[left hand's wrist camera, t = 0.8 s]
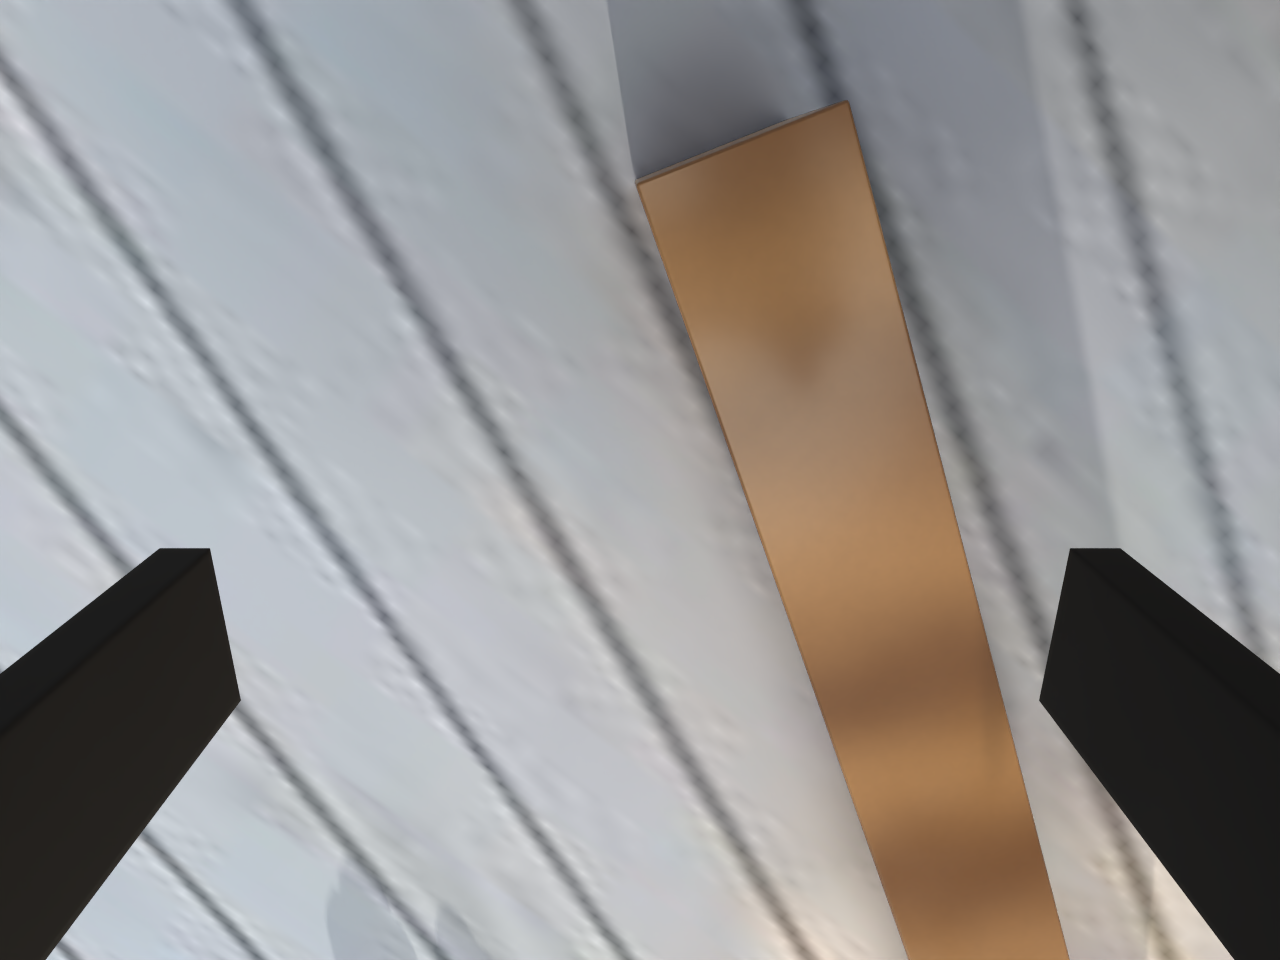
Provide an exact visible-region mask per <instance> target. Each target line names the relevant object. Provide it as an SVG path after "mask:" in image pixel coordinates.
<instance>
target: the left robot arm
mask: <svg viewBox="0 0 1280 960" xmlns="http://www.w3.org/2000/svg"><path fill="white" fill-rule="evenodd" d="M240 701H241V699H240V694H239V689H238V684H237V679H236V674H235V669H234V665H233V660H232V655H231V650H230V645H229V640H228V635H227V630H226V625H225V620H224V615H223V610H222V605H221V601H220V596H219V591H218V586H217V581H216V576H215V571H214V566H213V561H212V556H211V551H210V548H160V549H158V550H157V551H156V552H154V553H153V554H152V555H151V556H149V557H148V558H147V559H146V560H144V561H143V562H142V563H141V564H139V565H138V566H137V567H135V568H134V569H133V570H132V571H130V572H129V573H128V574H127V575H125V576H124V577H123V578H121V579H120V580H119V581H118V582H116V583H115V584H114V585H113V586H111V587H110V588H109V589H108V590H106V591H105V592H104V593H102V594H101V595H100V596H99V597H97V598H96V599H95V600H94V601H92V602H91V603H90V604H88V605H87V606H86V607H85V608H83V609H82V610H81V611H80V612H78V613H77V614H76V615H75V616H73V617H72V618H71V619H69V620H68V621H67V622H66V623H64V624H63V625H62V626H61V627H59V628H58V629H57V630H55V631H54V632H53V633H52V634H50V635H49V636H48V637H47V638H45V639H44V640H43V641H41V642H40V643H39V644H38V645H36V646H35V647H34V648H33V649H31V650H30V651H29V652H28V653H26V654H25V655H24V656H22V657H21V658H20V659H19V660H17V661H16V662H15V663H14V664H12V665H11V666H10V667H8V668H7V669H6V670H5V671H3V672H2V673H1V674H0V960H46V959H47V957H48V956H49V955H50V953H51V952H52V951H53V949H54V948H55V947H56V945H57V944H58V943H59V941H60V940H61V939H62V937H63V936H64V935H65V933H66V932H67V931H68V929H69V928H70V927H71V925H72V924H73V923H74V921H75V920H76V919H77V917H78V916H79V915H80V913H81V912H82V911H83V909H84V908H85V907H86V905H87V904H88V903H89V901H90V900H91V899H92V897H93V896H94V895H95V893H96V892H97V891H98V889H99V888H100V887H101V885H102V884H103V883H104V881H105V880H106V879H107V878H108V876H109V875H110V874H111V872H112V871H113V870H114V868H115V867H116V866H117V864H118V863H119V862H120V860H121V859H122V858H123V856H124V855H125V854H126V852H127V851H128V850H129V848H130V847H131V846H132V844H133V843H134V842H135V840H136V839H137V838H138V836H139V835H140V834H141V832H142V831H143V830H144V828H145V827H146V826H147V824H148V823H149V822H150V820H151V819H152V818H153V816H154V815H155V814H156V812H157V811H158V810H159V808H160V807H161V806H162V804H163V803H164V802H165V800H166V799H167V798H168V796H169V795H170V794H171V792H172V791H173V790H174V789H175V787H176V786H177V785H178V783H179V782H180V781H181V779H182V778H183V777H184V775H185V774H186V773H187V771H188V770H189V769H190V767H191V766H192V765H193V763H194V762H195V761H196V759H197V758H198V757H199V755H200V754H201V753H202V751H203V750H204V749H205V747H206V746H207V745H208V743H209V742H210V741H211V739H212V738H213V737H214V735H215V734H216V733H217V731H218V730H219V729H220V727H221V726H222V725H223V723H224V722H225V721H226V719H227V718H228V717H229V715H230V714H231V713H232V711H233V710H234V709H235V707H236V706H237V705H238V703H239V702H240ZM1039 701H1040V702H1041V703H1042V705H1043V706H1044V707H1045V709H1046V710H1047V711H1048V713H1049V714H1050V715H1051V717H1052V718H1053V719H1054V721H1055V722H1056V723H1057V725H1058V726H1059V727H1060V729H1061V730H1062V731H1063V733H1064V734H1065V735H1066V737H1067V738H1068V739H1069V741H1070V742H1071V743H1072V745H1073V746H1074V747H1075V749H1076V750H1077V751H1078V753H1079V754H1080V755H1081V757H1082V758H1083V759H1084V761H1085V762H1086V763H1087V765H1088V766H1089V767H1090V769H1091V770H1092V771H1093V773H1094V774H1095V775H1096V777H1097V778H1098V779H1099V781H1100V782H1101V783H1102V785H1103V786H1104V787H1105V789H1106V790H1107V791H1108V792H1109V794H1110V795H1111V796H1112V798H1113V799H1114V800H1115V802H1116V803H1117V804H1118V806H1119V807H1120V808H1121V810H1122V811H1123V812H1124V814H1125V815H1126V816H1127V818H1128V819H1129V820H1130V822H1131V823H1132V824H1133V826H1134V827H1135V828H1136V830H1137V831H1138V832H1139V834H1140V835H1141V836H1142V838H1143V839H1144V840H1145V842H1146V843H1147V844H1148V846H1149V847H1150V848H1151V850H1152V851H1153V852H1154V854H1155V855H1156V856H1157V858H1158V859H1159V860H1160V862H1161V863H1162V864H1163V866H1164V867H1165V868H1166V870H1167V871H1168V872H1169V874H1170V875H1171V876H1172V878H1173V879H1174V880H1175V881H1176V883H1177V884H1178V885H1179V887H1180V888H1181V889H1182V891H1183V892H1184V893H1185V895H1186V896H1187V897H1188V899H1189V900H1190V901H1191V903H1192V904H1193V905H1194V907H1195V908H1196V909H1197V911H1198V912H1199V913H1200V915H1201V916H1202V917H1203V919H1204V920H1205V921H1206V923H1207V924H1208V925H1209V927H1210V928H1211V929H1212V931H1213V932H1214V933H1215V935H1216V936H1217V937H1218V939H1219V940H1220V941H1221V943H1222V944H1223V945H1224V947H1225V948H1226V949H1227V951H1228V952H1229V953H1230V955H1231V956H1232V957H1233V959H1234V960H1280V674H1279V673H1278V672H1277V671H1275V670H1274V669H1273V668H1272V667H1270V666H1269V665H1268V664H1266V663H1265V662H1264V661H1263V660H1261V659H1260V658H1259V657H1258V656H1256V655H1255V654H1254V653H1252V652H1251V651H1250V650H1249V649H1247V648H1246V647H1245V646H1244V645H1242V644H1241V643H1240V642H1239V641H1237V640H1236V639H1235V638H1233V637H1232V636H1231V635H1230V634H1228V633H1227V632H1226V631H1225V630H1223V629H1222V628H1221V627H1219V626H1218V625H1217V624H1216V623H1214V622H1213V621H1212V620H1211V619H1209V618H1208V617H1207V616H1205V615H1204V614H1203V613H1202V612H1200V611H1199V610H1198V609H1197V608H1195V607H1194V606H1193V605H1192V604H1190V603H1189V602H1188V601H1186V600H1185V599H1184V598H1183V597H1181V596H1180V595H1179V594H1178V593H1176V592H1175V591H1174V590H1172V589H1171V588H1170V587H1169V586H1167V585H1166V584H1165V583H1164V582H1162V581H1161V580H1160V579H1159V578H1157V577H1156V576H1155V575H1153V574H1152V573H1151V572H1150V571H1148V570H1147V569H1146V568H1145V567H1143V566H1142V565H1141V564H1139V563H1138V562H1137V561H1136V560H1134V559H1133V558H1132V557H1131V556H1129V555H1128V554H1127V553H1126V552H1124V551H1123V550H1122V549H1120V548H1070V551H1069V556H1068V561H1067V566H1066V571H1065V576H1064V581H1063V586H1062V591H1061V596H1060V601H1059V605H1058V610H1057V615H1056V620H1055V625H1054V630H1053V635H1052V640H1051V645H1050V650H1049V655H1048V660H1047V665H1046V669H1045V674H1044V679H1043V684H1042V689H1041V694H1040V699H1039Z"/></svg>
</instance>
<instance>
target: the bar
mask: <svg viewBox="0 0 1280 960" xmlns="http://www.w3.org/2000/svg"><path fill="white" fill-rule="evenodd" d="M635 184H636V187H637V190H638V193H639V196H640V199H641V201H642V204H643V207H644V210H645V213H646V216H647V219H648V221H649V224H650V227H651V230H652V233H653V236H654V238H655V241H656V244H657V247H658V250H659V253H660V255H661V258H662V261H663V264H664V267H665V270H666V272H667V275H668V278H669V281H670V284H671V287H672V289H673V292H674V295H675V298H676V301H677V304H678V307H679V309H680V312H681V315H682V318H683V321H684V324H685V326H686V329H687V332H688V335H689V338H690V341H691V343H692V346H693V349H694V352H695V355H696V358H697V360H698V363H699V366H700V369H701V372H702V375H703V377H704V380H705V383H706V386H707V389H708V392H709V395H710V397H711V400H712V403H713V406H714V409H715V412H716V414H717V417H718V420H719V423H720V426H721V429H722V431H723V434H724V437H725V440H726V443H727V446H728V448H729V451H730V454H731V457H732V460H733V463H734V465H735V468H736V471H737V474H738V477H739V480H740V482H741V485H742V488H743V491H744V494H745V497H746V500H747V502H748V505H749V508H750V511H751V514H752V517H753V519H754V522H755V525H756V528H757V531H758V534H759V536H760V539H761V542H762V545H763V548H764V551H765V553H766V556H767V559H768V562H769V565H770V568H771V570H772V573H773V576H774V579H775V582H776V585H777V588H778V590H779V593H780V596H781V599H782V602H783V605H784V607H785V610H786V613H787V616H788V619H789V622H790V624H791V627H792V630H793V633H794V636H795V639H796V641H797V644H798V647H799V650H800V653H801V656H802V658H803V661H804V664H805V667H806V670H807V673H808V675H809V678H810V681H811V684H812V687H813V690H814V693H815V695H816V698H817V701H818V704H819V707H820V710H821V712H822V715H823V718H824V721H825V724H826V727H827V729H828V732H829V735H830V738H831V741H832V744H833V746H834V749H835V752H836V755H837V758H838V761H839V763H840V766H841V769H842V772H843V775H844V778H845V781H846V783H847V786H848V789H849V792H850V795H851V798H852V800H853V803H854V806H855V809H856V812H857V815H858V817H859V820H860V823H861V826H862V829H863V832H864V834H865V837H866V840H867V843H868V846H869V849H870V851H871V854H872V857H873V860H874V863H875V866H876V869H877V871H878V874H879V877H880V880H881V883H882V886H883V888H884V891H885V894H886V897H887V900H888V903H889V905H890V908H891V911H892V914H893V917H894V920H895V922H896V925H897V928H898V931H899V934H900V937H901V939H902V942H903V945H904V948H905V951H906V954H907V956H908V959H909V960H1070V959H1069V955H1068V951H1067V948H1066V944H1065V940H1064V936H1063V932H1062V928H1061V924H1060V920H1059V916H1058V913H1057V909H1056V905H1055V901H1054V897H1053V893H1052V889H1051V885H1050V881H1049V878H1048V874H1047V870H1046V866H1045V862H1044V858H1043V854H1042V850H1041V846H1040V843H1039V839H1038V835H1037V831H1036V827H1035V823H1034V819H1033V815H1032V811H1031V808H1030V804H1029V800H1028V796H1027V792H1026V788H1025V784H1024V780H1023V776H1022V773H1021V769H1020V765H1019V761H1018V757H1017V753H1016V749H1015V745H1014V741H1013V738H1012V734H1011V730H1010V726H1009V722H1008V718H1007V714H1006V710H1005V706H1004V703H1003V699H1002V695H1001V691H1000V687H999V683H998V679H997V675H996V671H995V668H994V664H993V660H992V656H991V652H990V648H989V644H988V640H987V636H986V633H985V629H984V625H983V621H982V617H981V613H980V609H979V605H978V601H977V598H976V594H975V590H974V586H973V582H972V578H971V574H970V570H969V566H968V563H967V559H966V555H965V551H964V547H963V543H962V539H961V535H960V531H959V528H958V524H957V520H956V516H955V512H954V508H953V504H952V500H951V496H950V493H949V489H948V485H947V481H946V477H945V473H944V469H943V465H942V461H941V458H940V454H939V450H938V446H937V442H936V438H935V434H934V430H933V426H932V423H931V419H930V415H929V411H928V407H927V403H926V399H925V395H924V391H923V388H922V384H921V380H920V376H919V372H918V368H917V364H916V360H915V356H914V353H913V349H912V345H911V341H910V337H909V333H908V329H907V325H906V321H905V318H904V314H903V310H902V306H901V302H900V298H899V294H898V290H897V286H896V283H895V279H894V275H893V271H892V267H891V263H890V259H889V255H888V251H887V248H886V244H885V240H884V236H883V232H882V228H881V224H880V220H879V216H878V213H877V209H876V205H875V201H874V197H873V193H872V189H871V185H870V181H869V178H868V174H867V170H866V166H865V162H864V158H863V154H862V150H861V146H860V143H859V139H858V135H857V131H856V127H855V123H854V119H853V115H852V111H851V108H850V104H849V102H848V100H844V101H841V102H838V103H835V104H832V105H829V106H826V107H823V108H820V109H817V110H814V111H811V112H808V113H805V114H802V115H799V116H796V117H793V118H790V119H787V120H785V121H782V122H780V123H777V124H775V125H772V126H770V127H767V128H765V129H762V130H759V131H757V132H754V133H752V134H749V135H747V136H744V137H742V138H739V139H737V140H734V141H732V142H729V143H727V144H724V145H722V146H719V147H717V148H714V149H712V150H709V151H707V152H704V153H702V154H699V155H696V156H694V157H691V158H689V159H686V160H684V161H681V162H679V163H676V164H674V165H671V166H669V167H666V168H664V169H661V170H659V171H656V172H654V173H651V174H649V175H646V176H644V177H641V178H639V179H636V180H635Z"/></svg>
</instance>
